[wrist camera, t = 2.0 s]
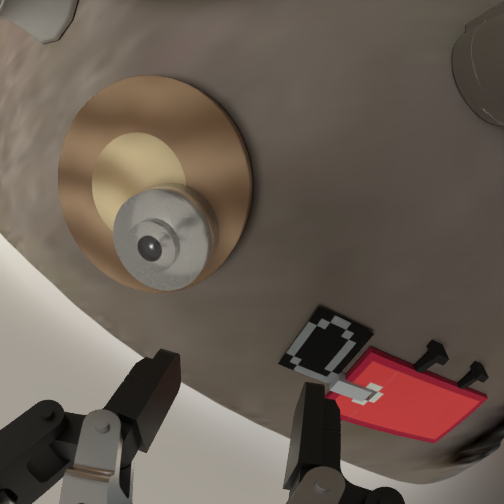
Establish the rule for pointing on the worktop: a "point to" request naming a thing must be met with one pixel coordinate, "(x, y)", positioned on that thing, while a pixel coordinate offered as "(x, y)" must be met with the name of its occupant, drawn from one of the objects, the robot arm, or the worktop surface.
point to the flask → (40, 16)
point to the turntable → (151, 164)
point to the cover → (166, 235)
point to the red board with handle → (383, 381)
